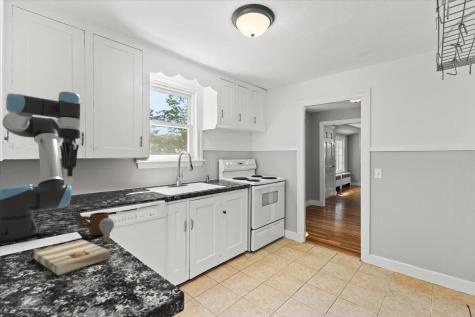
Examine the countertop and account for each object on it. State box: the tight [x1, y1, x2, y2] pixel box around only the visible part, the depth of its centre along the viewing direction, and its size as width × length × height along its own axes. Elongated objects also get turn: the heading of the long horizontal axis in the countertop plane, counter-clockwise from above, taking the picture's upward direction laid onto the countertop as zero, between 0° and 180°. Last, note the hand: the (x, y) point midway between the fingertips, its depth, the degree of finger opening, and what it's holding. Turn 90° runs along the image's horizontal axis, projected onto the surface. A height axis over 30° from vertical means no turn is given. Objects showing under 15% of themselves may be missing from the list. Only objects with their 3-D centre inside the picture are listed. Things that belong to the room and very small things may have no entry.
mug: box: [78, 211, 109, 237], centre depth 106 cm, size 12×8×9 cm, turn 131°
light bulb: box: [99, 218, 115, 243], centre depth 95 cm, size 5×6×10 cm
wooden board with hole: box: [33, 239, 111, 276], centre depth 79 cm, size 22×15×2 cm
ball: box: [73, 252, 85, 259], centre depth 76 cm, size 3×3×3 cm
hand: (68, 184), depth 96 cm, fingers closed
